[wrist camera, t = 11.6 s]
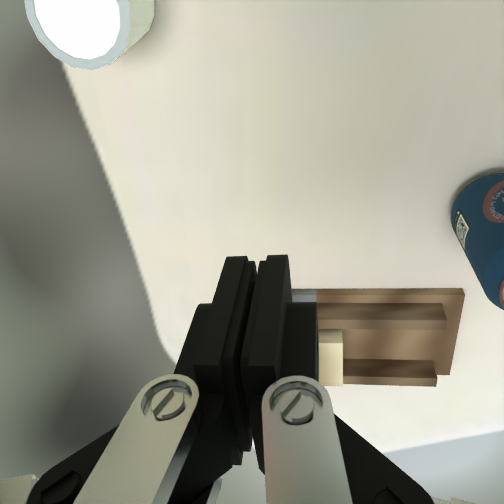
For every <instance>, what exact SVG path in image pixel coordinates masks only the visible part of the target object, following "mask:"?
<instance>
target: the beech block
mask: <svg viewBox="0 0 504 504" xmlns="http://www.w3.org/2000/svg"><path fill="white" fill-rule="evenodd" d="M318 334H319V383H321V384H322V385H323V386H343V339H342V329H318Z"/></svg>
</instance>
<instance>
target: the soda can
mask: <svg viewBox="0 0 504 504" xmlns="http://www.w3.org/2000/svg"><path fill="white" fill-rule="evenodd" d="M451 224H452V227H453V230H454V232H455V234H456V236H457V238H458V240H459V242H460V244H461V246H462V248H463V250H464V252H465V254H466V256H467V258H468V260H469V262H470V264H471V266H472V268H473V270H474V272H475V274H476V276H477V278H478V280H479V282H480V284H481V286H482V288H483V290H484V292H485V294H486V296H487V297H488V298H489V300H490V301H491V302H492V303H493V304H495V305H496V306H498V307H499V308H501V309H503V310H504V173H500V174H493V175H489V176H486V177H483V178H480V179H478V180H476V181H475V182H473V183H471V184H470V185H469V186H468V187H466V188H465V189H464V190H463V191H462V192H461V194H460V195H459V196H458V198H457V199H456V201H455V203H454V205H453V208H452V212H451Z"/></svg>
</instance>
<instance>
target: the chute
mask: <svg viewBox="0 0 504 504" xmlns="http://www.w3.org/2000/svg"><path fill="white" fill-rule="evenodd" d="M291 291H292V301H293V302H317V314H318V329H342V339H343V384H365V385H399V386H433V387H436V384H437V375H450V370H451V364H452V359H453V354H454V349H455V344H456V339H457V333H458V328H459V323H460V318H461V313H462V308H463V302H464V297H465V294H464V292H463V289H291Z"/></svg>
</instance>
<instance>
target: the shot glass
mask: <svg viewBox="0 0 504 504" xmlns="http://www.w3.org/2000/svg"><path fill="white" fill-rule="evenodd" d="M24 1H25V7H26V14H27V18H28V20H29V22H30V24H31V26H32V28H33V30H34V32H35V34H36V36H37V38H38V40H39V41H40V42H41V43H42V44H43V45H44V46H45V47H46V48H47V49H48V50H49V51H50V53H51V54H52V55H53V56H54V57H56V58H58V59H59V60H61V61H63V62H65V63H67V64H68V65H70V66H72V67H75V68H82V69H89V70H94V69H98V68H101V67H104V66H107V65H110V64H111V63H113V62H114V61H115V60H116V59H117V58H119V57H120V56H121V55H122V54H123V53H124V52H126V51H127V50H128V49H129V48H130V47H131V46H133V45H134V44H135V43H136V42H137V41H139V40H140V39H141V38H142V37H143V36H144V35H145V34H146V33H147V32H148V31H149V30H150V27H151V24H152V21H153V19H154V16H155V5H154V0H24Z"/></svg>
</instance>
